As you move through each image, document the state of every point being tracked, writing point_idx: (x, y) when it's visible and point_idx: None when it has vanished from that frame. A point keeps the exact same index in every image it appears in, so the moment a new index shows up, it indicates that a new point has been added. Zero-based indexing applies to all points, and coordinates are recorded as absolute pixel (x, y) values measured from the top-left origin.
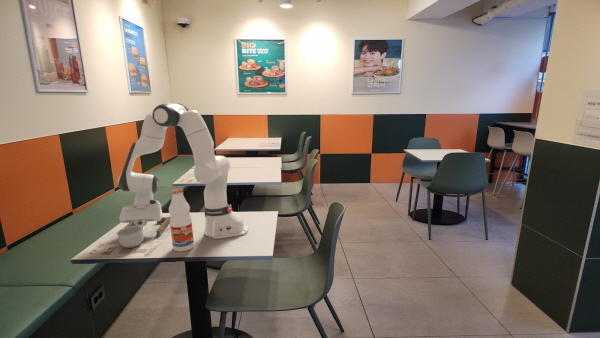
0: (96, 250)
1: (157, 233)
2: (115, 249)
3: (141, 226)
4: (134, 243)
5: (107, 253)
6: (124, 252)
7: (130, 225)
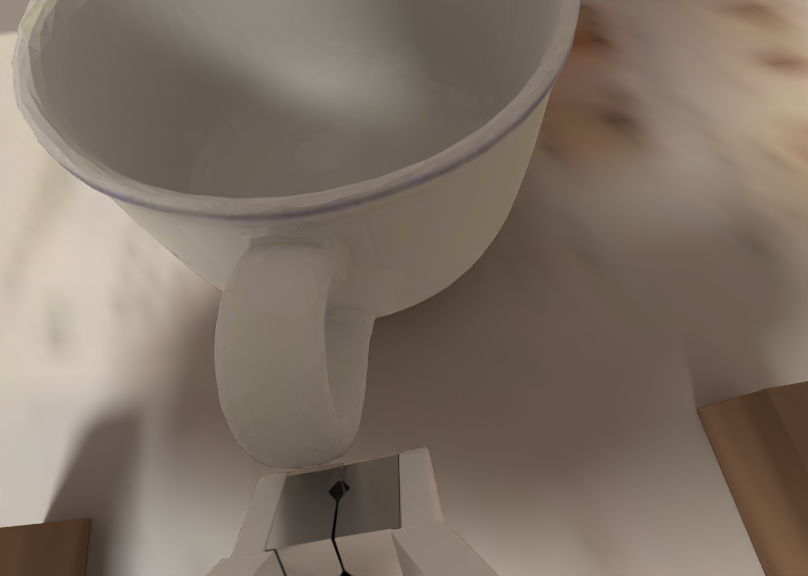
0: (756, 60)
1: (26, 525)
2: None
3: (251, 515)
4: (249, 74)
5: None
6: None
7: None
